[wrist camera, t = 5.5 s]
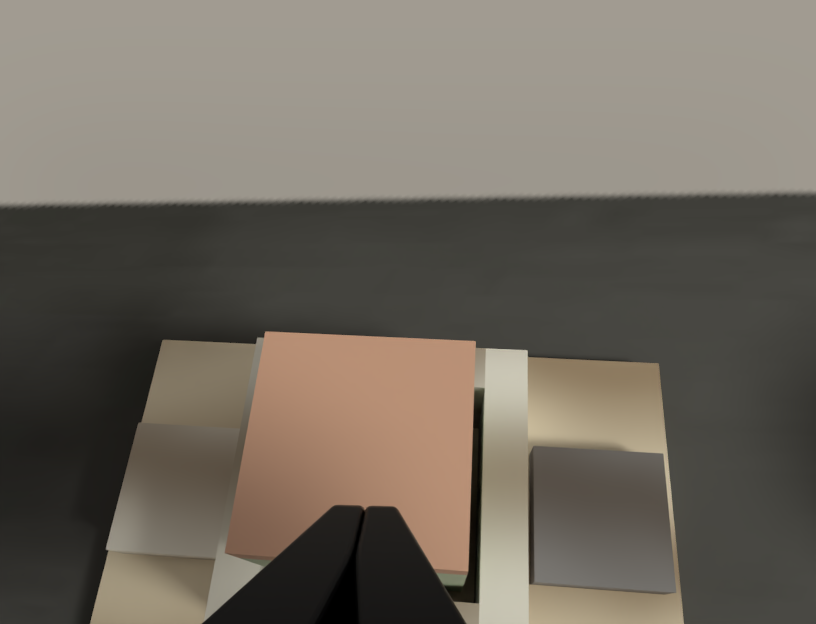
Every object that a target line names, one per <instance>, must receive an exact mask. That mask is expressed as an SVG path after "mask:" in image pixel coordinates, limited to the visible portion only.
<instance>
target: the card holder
mask: <svg viewBox="0 0 816 624" xmlns="http://www.w3.org/2000/svg"><path fill="white" fill-rule="evenodd" d="M263 341H264V338H257V342H256V344H242V343H221V342H200V341H179V340H162V344H161V348H160V352H159V356H158V360H157V364H156V368H155V372H154V376H153V379H152V383H151V387H150V391H149V395H148V399H147V403H146V407H145V411H144V415H143V418H142V422H141V423H138V426H137V430H136V434H135V437H134V441H133V445H132V449H131V453H130V457H129V461H128V465H127V468H126V472H125V476H124V480H123V484H122V488H121V492H120V495H119V499H118V503H117V507H116V511H115V515H114V519H113V523H112V526H111V530H110V534H109V538H108V542H107V546H106V550H109V551H108V555H107V559H106V563H105V567H104V571H103V575H102V578H101V582H100V586H99V590H98V594H97V598H96V602H95V606H94V610H93V614H92V617H91V621H90V624H202V623H203V622H204V621H205V620H206V619H207V618H209V617H210V616H211V615H212V614H213V613H214V612H215V611H216V610H218V609H219V608H220V607H221V606H222V605H223V604H224V603H225V602H226V601H228V600H229V599H230V598H231V597H232V596H233V595H234V594H235V593H236V592H238V591H239V590H240V589H241V588H242V587H243V586H244V585H245V584H246V583H248V582H249V581H250V580H251V579H252V578H253V577H254V576H255V575H256V574H258V573H259V572H260V571H261V570H262V569H263V568H264V566H261V565H258V564H255V563H252V562H249V561H246V560H243V559H240V558H237V557H234V556H232V555H229V554H226V553H225V548H226V543H227V537H228V532H229V526H230V521H231V515H232V510H233V505H234V499H235V494H236V488H237V483H238V477H239V472H240V466H241V461H242V456H243V450H244V445H245V439H246V434H247V428H248V423H249V418H250V412H251V407H252V401H253V396H254V390H255V385H256V380H257V374H258V369H259V363H260V358H261V352H262V347H263ZM447 592H448V593H449V595H450V597H451V598H452V600H453V602H454V603H455V605H456V607H457V608H458V610H459V612H460V613H461V615H462V617H463V618H464V620H465V622H466V623H467V624H684V621H683V610H682V600H681V590H680V579H679V569H678V559H677V548H676V538H675V528H674V517H673V507H672V497H671V486H670V476H669V466H668V455H667V445H666V435H665V424H664V414H663V404H662V393H661V383H660V373H659V363H638V362H617V361H597V360H576V359H555V358H534V357H528V351H527V350H508V349H487V348H475V379H474V410H473V441H472V472H471V503H470V534H469V565H468V574H467V577H466V580H465V583H464V585H463V588H462V591H461V592H458V591H447Z"/></svg>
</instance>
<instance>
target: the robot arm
mask: <svg viewBox="0 0 816 624" xmlns="http://www.w3.org/2000/svg"><path fill="white" fill-rule="evenodd" d="M202 624H467V623H466V622H465V620H464V618H463V617H462V615H461V613H460V612H459V610H458V608H457V607H456V605H455V603H454V602H453V600H452V598H451V597H450V595H449V593H448V592H447V590H446V588H445V587H444V585H443V583H442V582H441V580H440V578H439V577H438V575H437V573H436V572H435V570H434V568H433V567H432V565H431V563H430V562H429V560H428V558H427V557H426V555H425V553H424V552H423V550H422V548H421V547H420V545H419V543H418V542H417V540H416V538H415V537H414V535H413V533H412V532H411V530H410V528H409V527H408V525H407V523H406V522H405V520H404V518H403V517H402V515H401V513H400V512H399V510H398V509H397V508H396V507H394V506H368V507H367V508H366V509H364V507H362V506H360V505H334V506H332V507H331V508H330V509H329V510H328V511H327V512H325V513H324V514H323V515H322V516H321V517H320V518H319V519H318V520H317V521H315V522H314V523H313V524H312V525H311V526H310V527H309V528H308V529H306V530H305V531H304V532H303V533H302V534H301V535H300V536H299V537H298V538H296V539H295V540H294V541H293V542H292V543H291V544H290V545H289V546H288V547H286V548H285V549H284V550H283V551H282V552H281V553H280V554H279V555H278V556H276V557H275V558H274V559H273V560H272V561H271V562H270V563H269V564H268V565H266V566H265V567H264V568H263V569H262V570H261V571H260V572H259V573H258V574H256V575H255V576H254V577H253V578H252V579H251V580H250V581H249V582H248V583H246V584H245V585H244V586H243V587H242V588H241V589H240V590H239V591H238V592H236V593H235V594H234V595H233V596H232V597H231V598H230V599H229V600H228V601H226V602H225V603H224V604H223V605H222V606H221V607H220V608H219V609H218V610H216V611H215V612H214V613H213V614H212V615H211V616H210V617H209V618H207V619H206V620H205V621H204V622H203V623H202Z"/></svg>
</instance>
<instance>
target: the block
mask: <svg viewBox="0 0 816 624" xmlns="http://www.w3.org/2000/svg"><path fill="white" fill-rule="evenodd" d="M475 348H476V341H460V340H438V339H417V338H395V337H373V336H352V335H330V334H308V333H287V332H265V336H264V341H263V347H262V352H261V358H260V363H259V369H258V374H257V380H256V385H255V390H254V396H253V401H252V407H251V412H250V418H249V423H248V428H247V434H246V439H245V445H244V450H243V456H242V461H241V466H240V472H239V477H238V483H237V488H236V494H235V499H234V505H233V510H232V515H231V521H230V526H229V532H228V537H227V543H226V548H225V553H226V554H229V555H232V556H234V557H237V558H240V559H243V560H246V561H249V562H252V563H255V564H258V565H261V566H264V567H265V566H266V565H268V564H269V563H270V562H271V561H272V560H273V559H274V558H275V557H276V556H278V555H279V554H280V553H281V552H282V551H283V550H284V549H285V548H286V547H288V546H289V545H290V544H291V543H292V542H293V541H294V540H295V539H296V538H298V537H299V536H300V535H301V534H302V533H303V532H304V531H305V530H306V529H308V528H309V527H310V526H311V525H312V524H313V523H314V522H315V521H317V520H318V519H319V518H320V517H321V516H322V515H323V514H324V513H325V512H327V511H328V510H329V509H330V508H331V507H332V506H334V505H360V506H362V507H364V509H366V508H367V507H368V506H394V507H396V508H397V509H398V510H399V512H400V513H401V515H402V517H403V518H404V520H405V522H406V523H407V525H408V527H409V528H410V530H411V532H412V533H413V535H414V537H415V538H416V540H417V542H418V543H419V545H420V547H421V548H422V550H423V552H424V553H425V555H426V557H427V558H428V560H429V562H430V563H431V565H432V567H433V568H434V570H435V572H436V573H437V575H438V577H439V578H440V580H441V582H442V583H443V585H444V587H445V588H446V590H447V591H458V592H461V591H462V588H463V585H464V583H465V580H466V577H467V574H468V565H469V534H470V503H471V472H472V441H473V410H474V379H475Z"/></svg>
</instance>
